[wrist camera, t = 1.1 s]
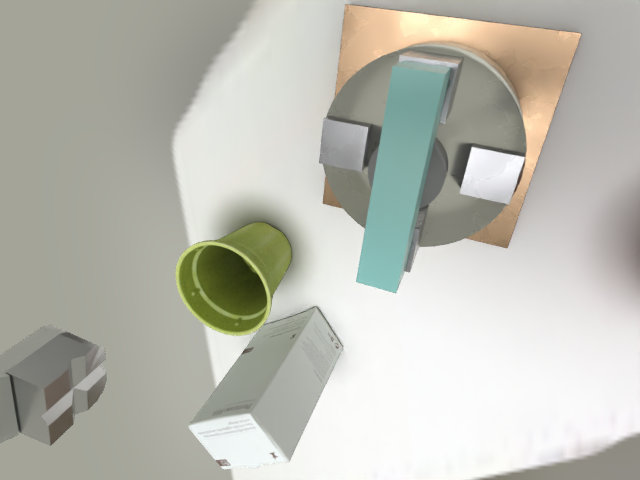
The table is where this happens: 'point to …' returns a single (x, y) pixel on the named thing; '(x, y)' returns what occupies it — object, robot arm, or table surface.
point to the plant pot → (234, 278)
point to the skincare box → (269, 393)
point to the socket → (448, 115)
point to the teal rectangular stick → (403, 170)
